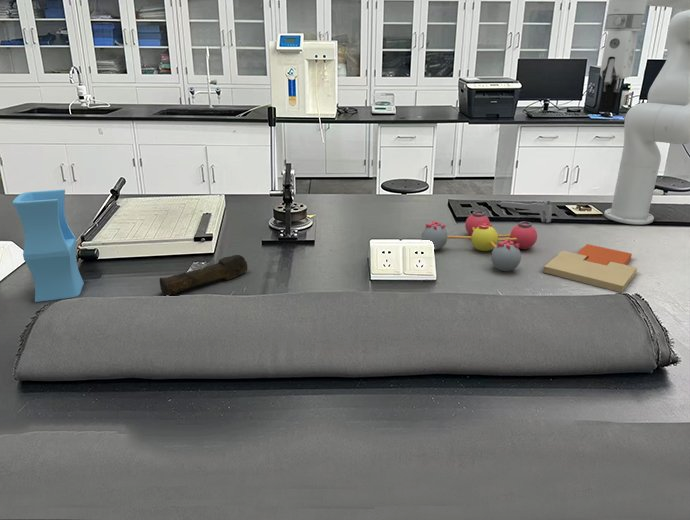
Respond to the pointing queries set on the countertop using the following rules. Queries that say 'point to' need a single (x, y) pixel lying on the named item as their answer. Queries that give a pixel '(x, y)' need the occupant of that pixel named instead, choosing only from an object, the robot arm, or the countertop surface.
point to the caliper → (533, 208)
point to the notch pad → (590, 271)
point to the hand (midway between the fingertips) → (608, 109)
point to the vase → (49, 245)
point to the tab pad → (604, 255)
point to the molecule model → (488, 239)
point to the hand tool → (204, 275)
